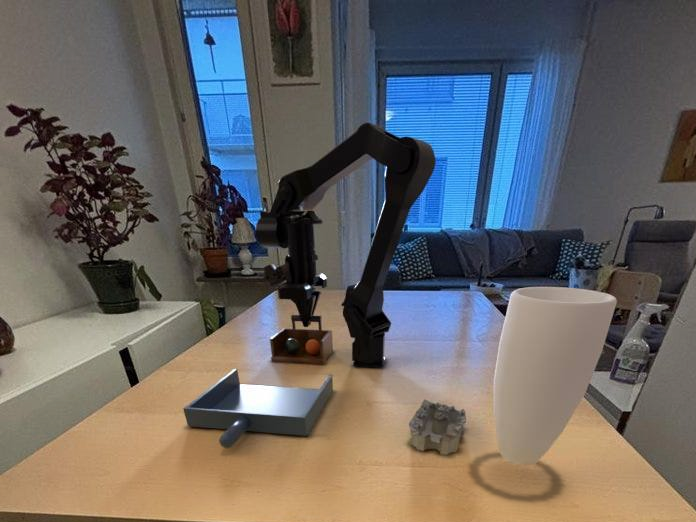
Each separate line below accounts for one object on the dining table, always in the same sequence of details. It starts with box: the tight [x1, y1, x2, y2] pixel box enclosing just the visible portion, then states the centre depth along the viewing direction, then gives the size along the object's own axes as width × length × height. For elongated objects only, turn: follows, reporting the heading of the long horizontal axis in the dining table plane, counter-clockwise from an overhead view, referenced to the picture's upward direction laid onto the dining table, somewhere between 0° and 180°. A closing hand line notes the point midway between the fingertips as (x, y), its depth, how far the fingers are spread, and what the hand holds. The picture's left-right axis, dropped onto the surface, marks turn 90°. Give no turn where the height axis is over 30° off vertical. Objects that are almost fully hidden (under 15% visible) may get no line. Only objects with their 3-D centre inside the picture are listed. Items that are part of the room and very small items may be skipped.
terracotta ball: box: [306, 339, 320, 355], centre depth 91 cm, size 3×3×3 cm
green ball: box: [285, 338, 300, 354], centre depth 91 cm, size 3×3×3 cm
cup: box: [493, 286, 618, 466], centre depth 45 cm, size 10×10×22 cm
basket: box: [269, 314, 334, 366], centre depth 90 cm, size 12×10×8 cm
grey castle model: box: [408, 399, 467, 456], centre depth 59 cm, size 11×8×4 cm
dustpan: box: [183, 368, 334, 449], centre depth 64 cm, size 26×19×3 cm
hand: (307, 326), depth 93 cm, fingers closed on basket
